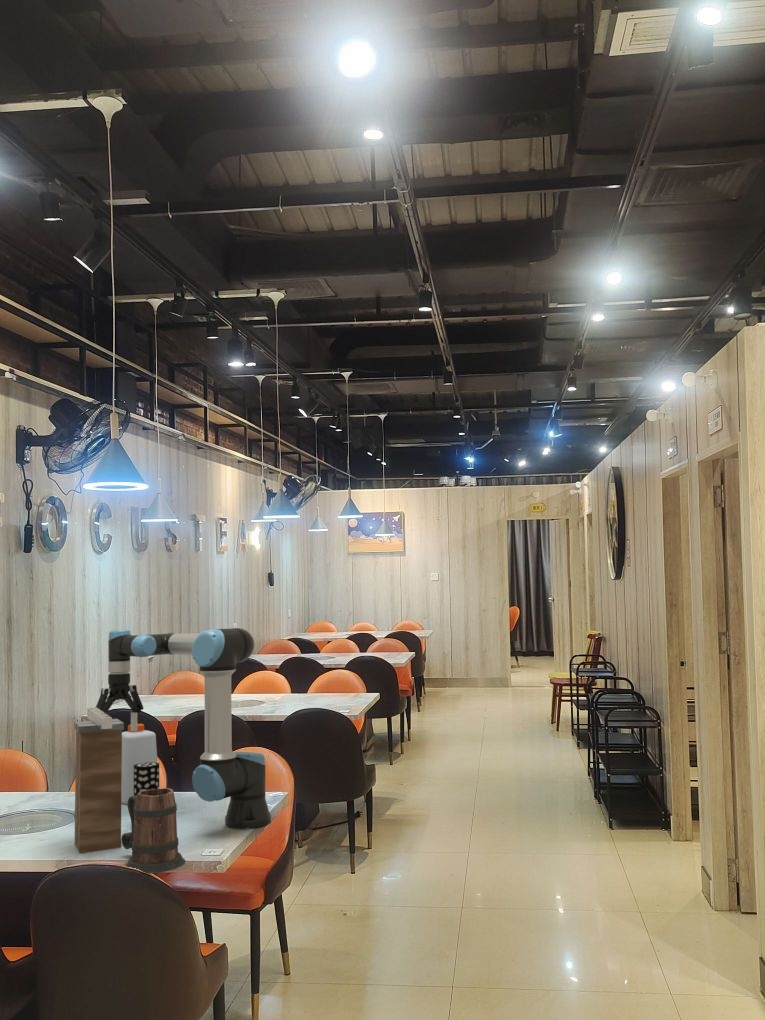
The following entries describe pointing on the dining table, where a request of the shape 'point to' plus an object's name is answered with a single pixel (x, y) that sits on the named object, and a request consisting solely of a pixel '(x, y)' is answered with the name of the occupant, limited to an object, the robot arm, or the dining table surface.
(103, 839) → the column
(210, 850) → the dining table surface
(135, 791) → the white-spotted black cylinder
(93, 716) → the bar
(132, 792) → the plastic bottle
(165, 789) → the tankard
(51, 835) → the dining table surface
